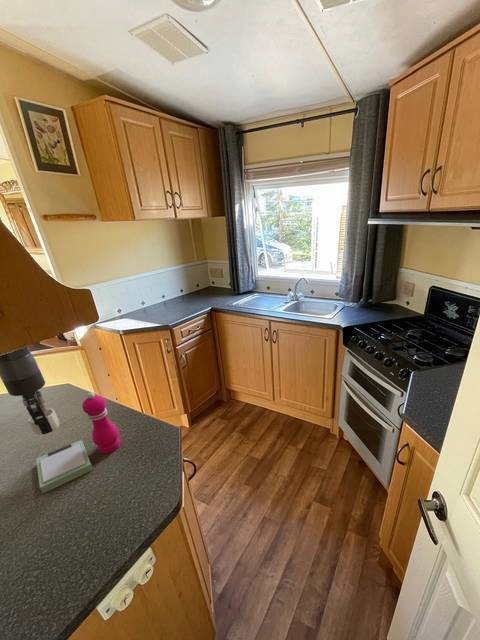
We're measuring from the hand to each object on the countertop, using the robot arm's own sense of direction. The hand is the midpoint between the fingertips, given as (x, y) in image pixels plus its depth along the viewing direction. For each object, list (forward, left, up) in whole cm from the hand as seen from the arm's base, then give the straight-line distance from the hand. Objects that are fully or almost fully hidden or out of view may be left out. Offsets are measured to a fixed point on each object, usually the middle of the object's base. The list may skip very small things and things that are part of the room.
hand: (46, 426), depth 79 cm
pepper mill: (+10, +7, -15) cm, 19 cm away
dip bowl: (0, 0, -1) cm, 1 cm away
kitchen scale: (0, 0, -15) cm, 15 cm away
